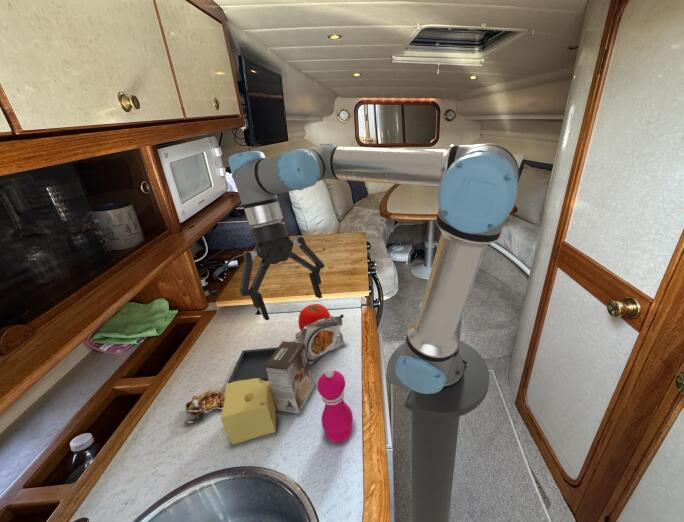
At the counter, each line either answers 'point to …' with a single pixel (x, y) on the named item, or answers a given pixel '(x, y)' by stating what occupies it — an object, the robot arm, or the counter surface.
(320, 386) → the pepper mill
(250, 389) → the cheese
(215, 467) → the counter surface
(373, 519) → the counter surface
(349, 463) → the counter surface
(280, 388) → the coffee box
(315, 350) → the meal
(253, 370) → the spice tray
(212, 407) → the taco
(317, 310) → the tomato
